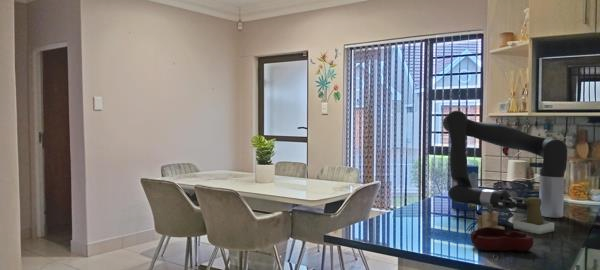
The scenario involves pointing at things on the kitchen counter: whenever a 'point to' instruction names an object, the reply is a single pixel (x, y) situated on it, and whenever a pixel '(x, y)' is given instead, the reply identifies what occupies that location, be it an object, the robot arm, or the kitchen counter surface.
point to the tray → (533, 226)
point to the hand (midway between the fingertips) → (533, 205)
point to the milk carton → (474, 183)
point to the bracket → (489, 219)
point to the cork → (534, 211)
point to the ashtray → (500, 240)
